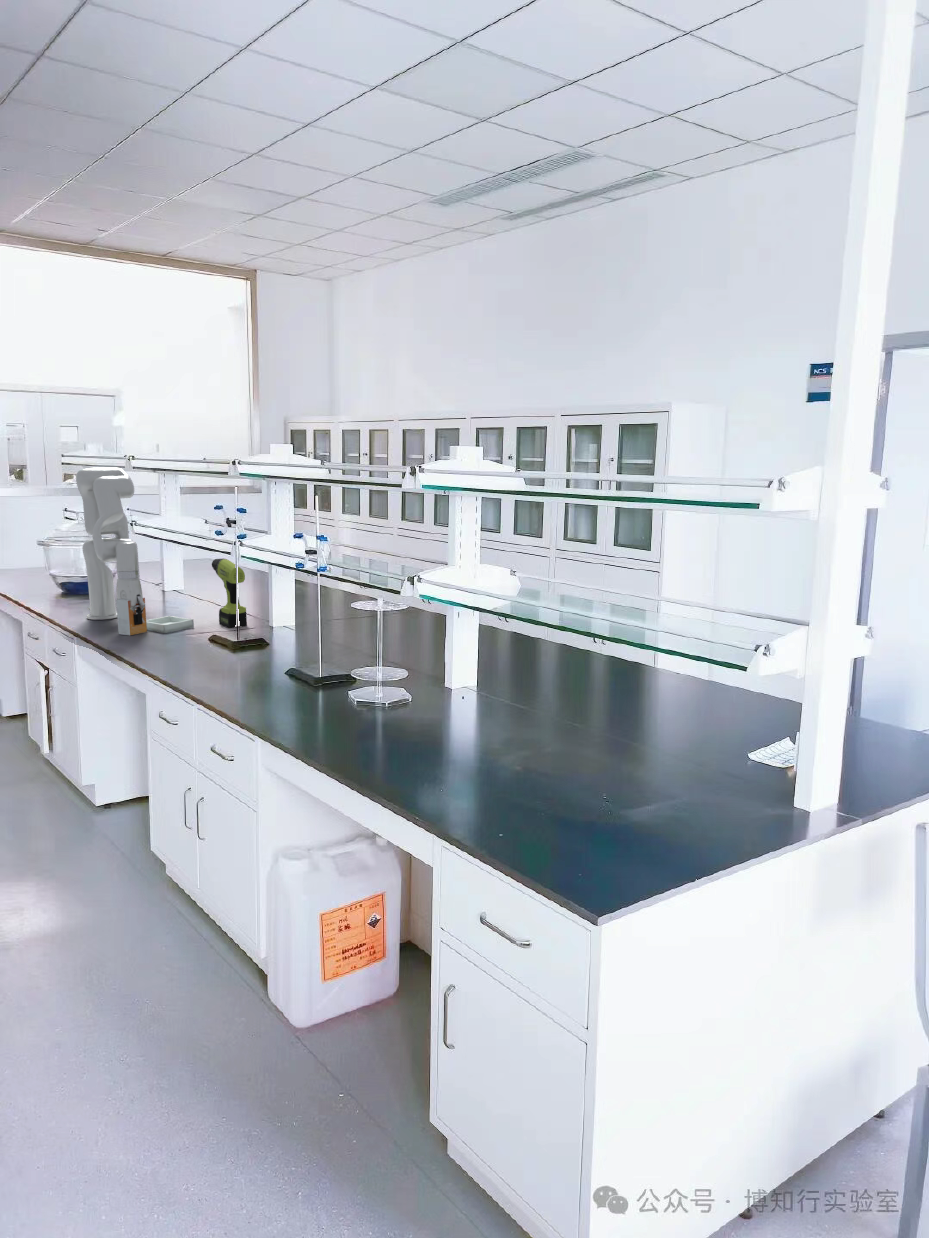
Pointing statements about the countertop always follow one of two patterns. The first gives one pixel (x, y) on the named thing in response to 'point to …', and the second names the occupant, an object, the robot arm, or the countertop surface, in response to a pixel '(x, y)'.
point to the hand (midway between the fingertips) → (132, 623)
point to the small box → (129, 618)
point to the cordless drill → (230, 593)
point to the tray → (169, 624)
